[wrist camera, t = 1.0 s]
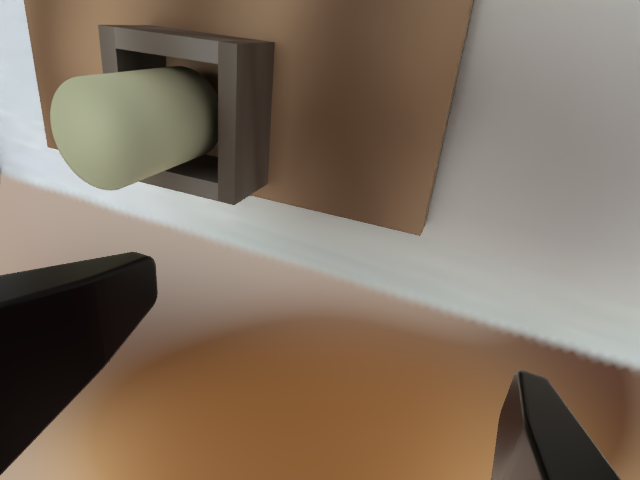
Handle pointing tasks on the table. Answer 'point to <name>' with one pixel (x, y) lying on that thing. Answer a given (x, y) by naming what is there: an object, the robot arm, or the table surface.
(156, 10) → the button panel
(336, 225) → the table surface
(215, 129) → the sage button
